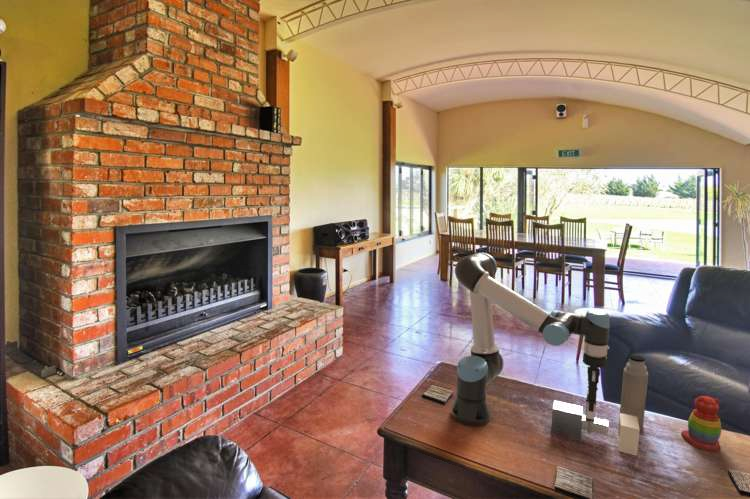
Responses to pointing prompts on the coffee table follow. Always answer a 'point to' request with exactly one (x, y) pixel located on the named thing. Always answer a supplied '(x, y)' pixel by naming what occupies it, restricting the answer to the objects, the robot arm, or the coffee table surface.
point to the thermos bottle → (634, 388)
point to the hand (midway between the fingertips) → (590, 412)
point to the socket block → (628, 434)
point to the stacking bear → (704, 424)
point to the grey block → (567, 419)
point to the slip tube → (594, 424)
